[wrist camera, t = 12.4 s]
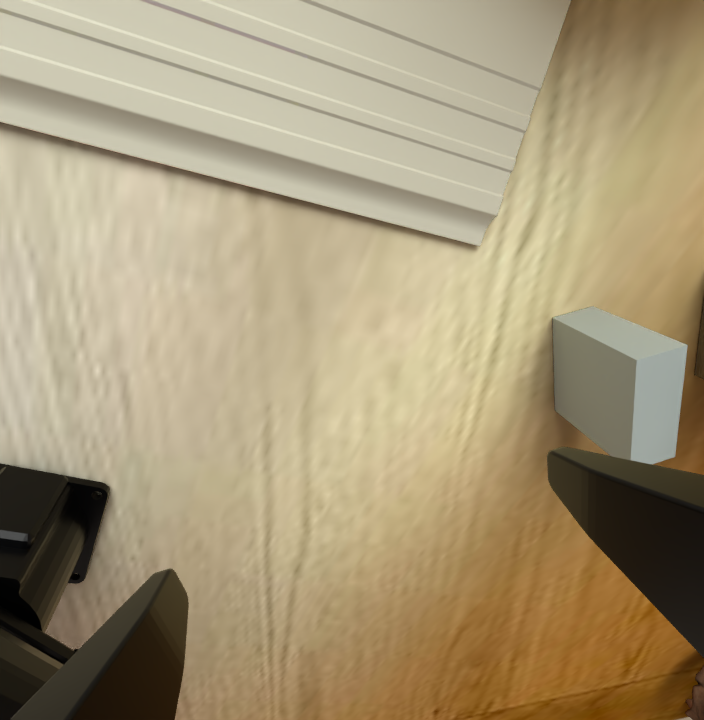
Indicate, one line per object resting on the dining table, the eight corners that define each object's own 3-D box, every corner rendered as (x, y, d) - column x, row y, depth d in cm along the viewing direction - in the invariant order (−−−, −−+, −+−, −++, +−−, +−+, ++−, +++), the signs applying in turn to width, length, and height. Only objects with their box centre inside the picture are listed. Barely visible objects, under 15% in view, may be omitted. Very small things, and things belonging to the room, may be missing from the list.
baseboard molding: (461, 271, 23) (553, -4, 19) (488, 284, 20) (601, -32, 17) (-379, 71, 15) (-522, -492, 11) (-518, 49, 12) (-772, -705, 8)
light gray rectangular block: (554, 410, 27) (629, 471, 22) (552, 317, 24) (636, 360, 19) (591, 399, 27) (675, 456, 22) (592, 306, 25) (687, 344, 19)
